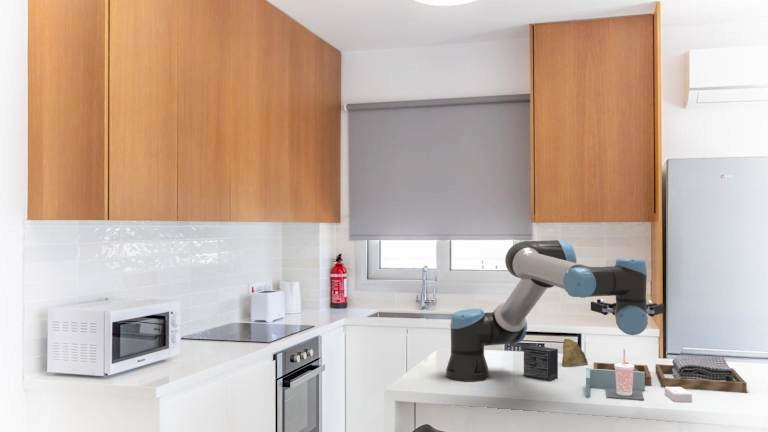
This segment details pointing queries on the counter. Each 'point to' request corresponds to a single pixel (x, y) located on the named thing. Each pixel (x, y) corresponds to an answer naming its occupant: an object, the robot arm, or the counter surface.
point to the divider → (610, 380)
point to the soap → (678, 394)
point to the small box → (541, 363)
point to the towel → (702, 368)
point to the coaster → (635, 395)
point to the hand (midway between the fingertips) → (625, 304)
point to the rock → (572, 354)
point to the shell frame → (639, 367)
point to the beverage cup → (624, 377)
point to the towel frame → (699, 381)
